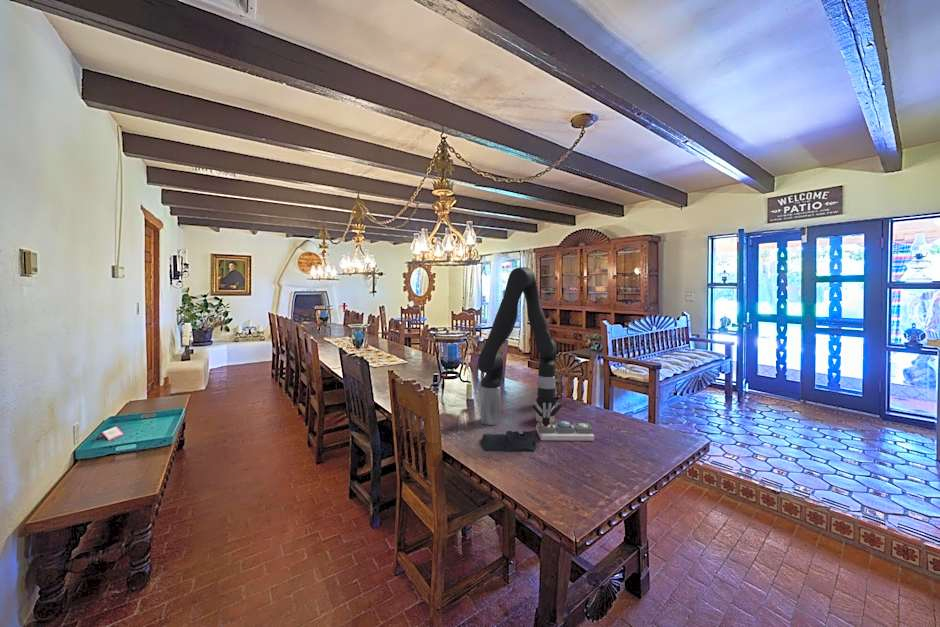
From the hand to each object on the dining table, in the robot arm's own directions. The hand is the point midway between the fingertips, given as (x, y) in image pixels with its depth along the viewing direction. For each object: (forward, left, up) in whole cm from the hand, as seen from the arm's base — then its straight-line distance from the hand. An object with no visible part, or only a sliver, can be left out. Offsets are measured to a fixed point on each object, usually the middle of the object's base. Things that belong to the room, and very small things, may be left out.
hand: (545, 425), depth 161 cm
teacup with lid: (+3, +19, -4) cm, 20 cm away
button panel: (+8, 0, -4) cm, 9 cm away
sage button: (+16, 0, -2) cm, 16 cm away
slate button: (+8, 0, -1) cm, 8 cm away
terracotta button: (0, 0, -2) cm, 2 cm away
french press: (+11, +42, -4) cm, 44 cm away
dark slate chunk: (-17, -9, -5) cm, 20 cm away
